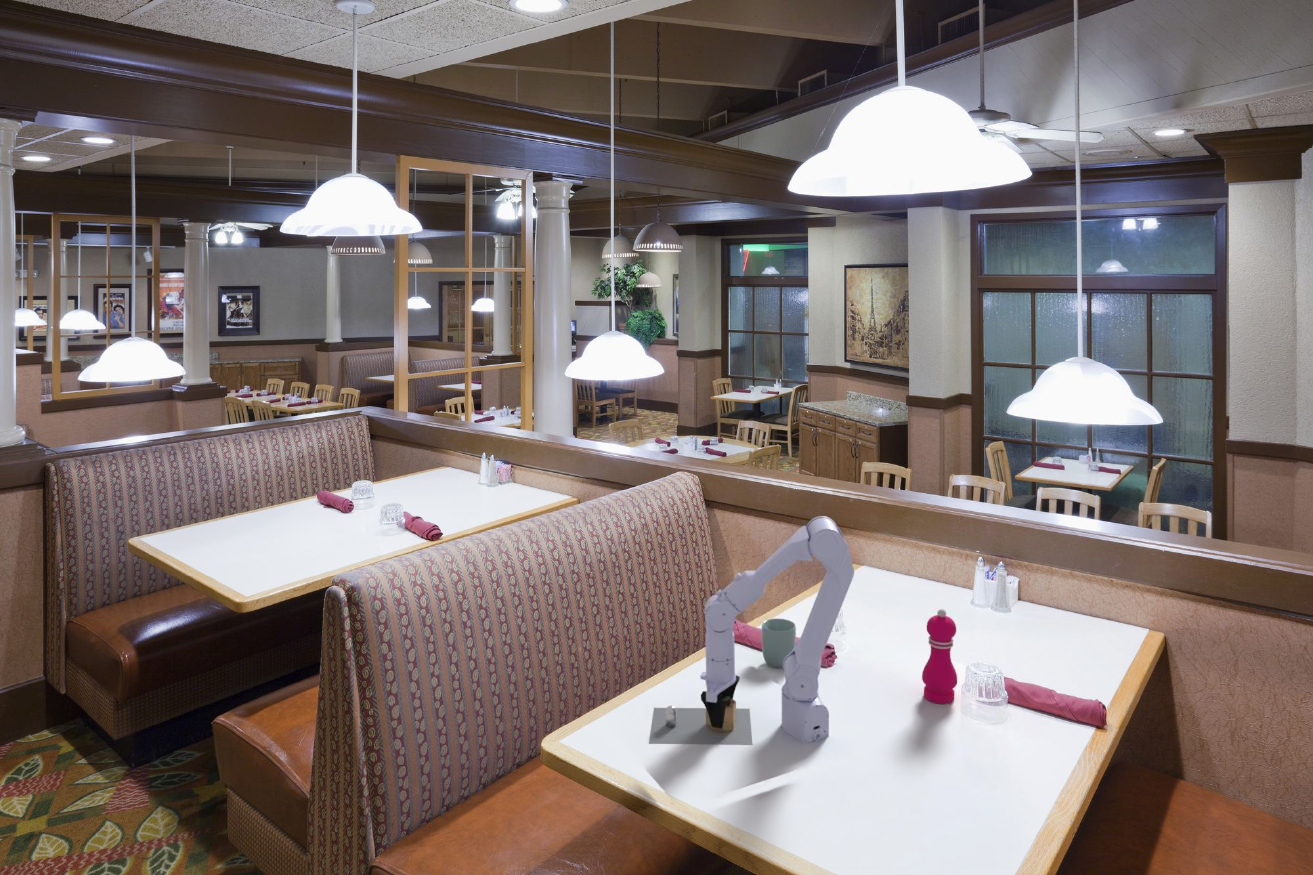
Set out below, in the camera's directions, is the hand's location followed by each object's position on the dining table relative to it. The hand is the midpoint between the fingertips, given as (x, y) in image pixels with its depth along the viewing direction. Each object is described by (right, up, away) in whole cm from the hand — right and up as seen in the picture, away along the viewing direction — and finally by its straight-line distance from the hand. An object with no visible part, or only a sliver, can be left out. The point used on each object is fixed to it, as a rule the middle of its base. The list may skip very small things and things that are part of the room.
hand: (721, 718), depth 169 cm
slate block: (-4, -3, +1) cm, 5 cm away
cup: (+16, +3, +30) cm, 34 cm away
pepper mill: (+48, 0, +13) cm, 50 cm away
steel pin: (-10, -2, +1) cm, 10 cm away
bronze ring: (0, -1, 0) cm, 1 cm away
